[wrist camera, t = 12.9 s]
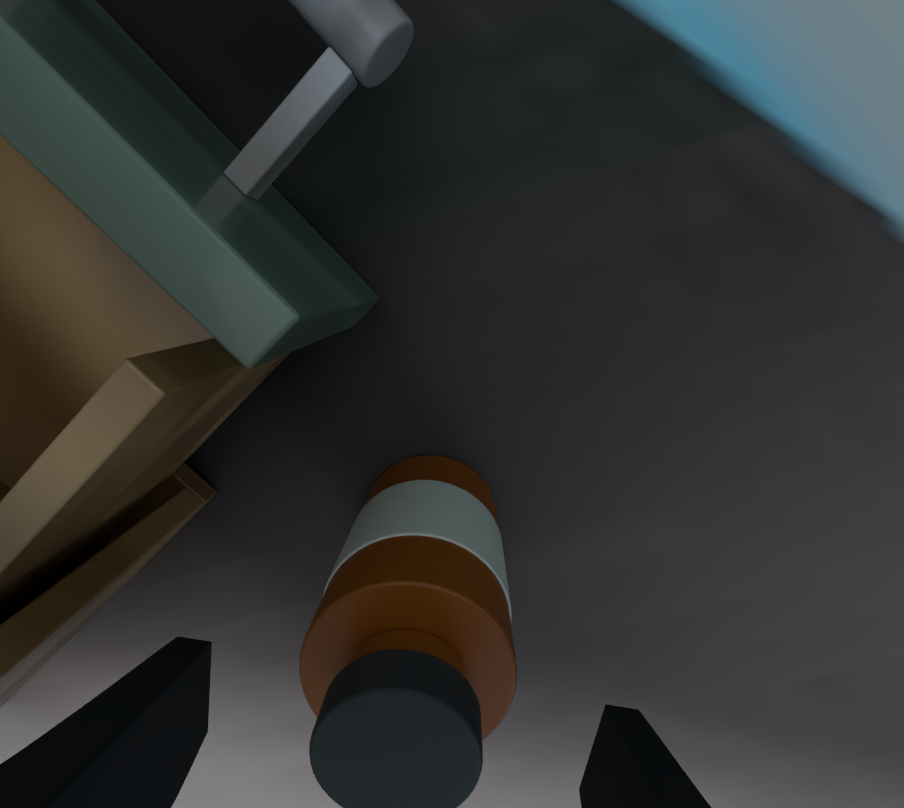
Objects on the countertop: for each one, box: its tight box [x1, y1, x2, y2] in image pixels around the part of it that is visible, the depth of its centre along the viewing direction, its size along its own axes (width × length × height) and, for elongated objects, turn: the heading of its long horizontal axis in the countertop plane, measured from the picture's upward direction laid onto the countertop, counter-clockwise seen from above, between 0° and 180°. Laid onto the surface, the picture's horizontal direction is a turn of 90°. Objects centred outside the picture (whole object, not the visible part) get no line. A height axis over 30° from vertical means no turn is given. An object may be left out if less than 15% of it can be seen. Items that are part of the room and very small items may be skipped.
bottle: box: [299, 455, 517, 808], centre depth 12 cm, size 4×4×8 cm
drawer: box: [0, 0, 414, 624], centre depth 10 cm, size 17×11×7 cm
